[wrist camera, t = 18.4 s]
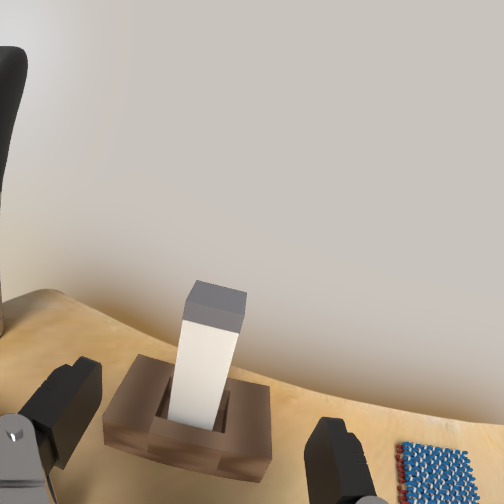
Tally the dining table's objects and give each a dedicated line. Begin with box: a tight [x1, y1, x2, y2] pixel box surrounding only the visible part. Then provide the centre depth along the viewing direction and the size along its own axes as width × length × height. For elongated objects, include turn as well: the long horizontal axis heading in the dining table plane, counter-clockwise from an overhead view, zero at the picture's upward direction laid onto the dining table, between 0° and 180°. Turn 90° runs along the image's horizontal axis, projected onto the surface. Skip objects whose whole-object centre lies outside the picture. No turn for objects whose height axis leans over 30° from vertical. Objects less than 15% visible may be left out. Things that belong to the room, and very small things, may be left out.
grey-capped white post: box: [167, 280, 247, 431], centre depth 25 cm, size 4×4×14 cm
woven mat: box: [396, 441, 480, 504], centre depth 24 cm, size 10×11×2 cm
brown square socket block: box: [102, 354, 272, 483], centre depth 27 cm, size 14×10×4 cm
